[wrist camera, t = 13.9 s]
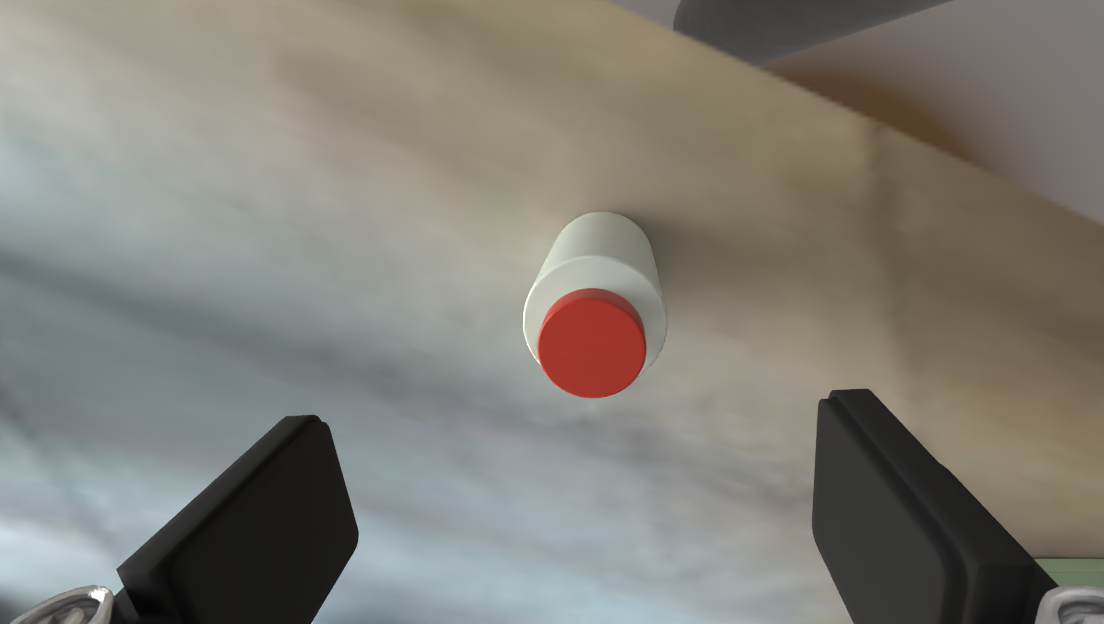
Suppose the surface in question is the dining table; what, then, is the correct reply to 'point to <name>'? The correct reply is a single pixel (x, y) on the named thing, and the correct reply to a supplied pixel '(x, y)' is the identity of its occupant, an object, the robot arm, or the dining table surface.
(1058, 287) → the dining table surface
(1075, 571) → the chest
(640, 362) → the spice bottle
